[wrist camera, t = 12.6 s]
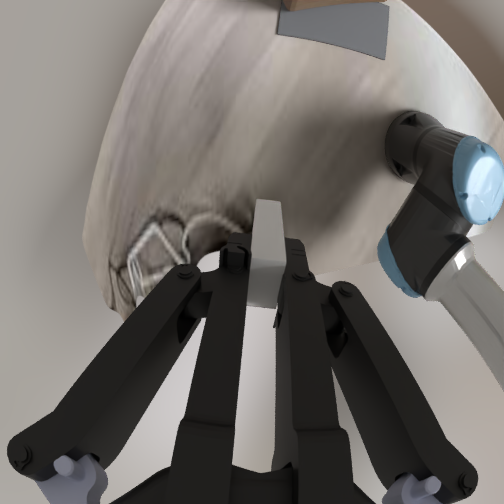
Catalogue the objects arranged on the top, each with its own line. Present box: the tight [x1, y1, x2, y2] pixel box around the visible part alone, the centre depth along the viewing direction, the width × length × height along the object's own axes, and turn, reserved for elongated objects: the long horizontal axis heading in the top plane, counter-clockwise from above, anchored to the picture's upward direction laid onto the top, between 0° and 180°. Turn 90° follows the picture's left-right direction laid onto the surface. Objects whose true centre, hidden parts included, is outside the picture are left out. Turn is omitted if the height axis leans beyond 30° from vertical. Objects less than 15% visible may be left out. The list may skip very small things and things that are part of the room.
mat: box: [278, 0, 389, 60], centre depth 32 cm, size 20×13×1 cm, turn 84°
